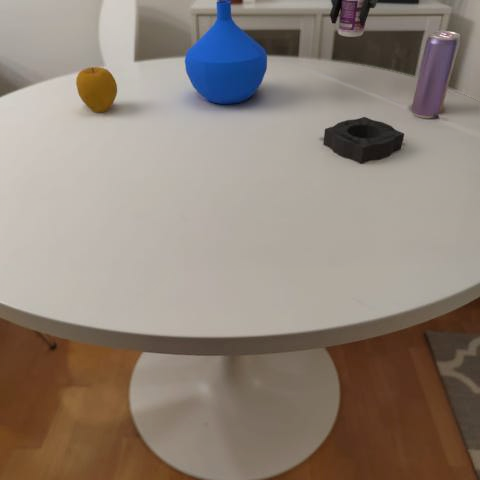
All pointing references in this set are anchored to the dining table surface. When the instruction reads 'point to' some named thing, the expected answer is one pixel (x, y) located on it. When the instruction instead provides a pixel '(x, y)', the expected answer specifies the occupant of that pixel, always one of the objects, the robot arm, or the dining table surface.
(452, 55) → the beverage can
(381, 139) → the dock pad
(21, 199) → the dining table surface
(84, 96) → the apple
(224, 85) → the vase
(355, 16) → the pill bottle
